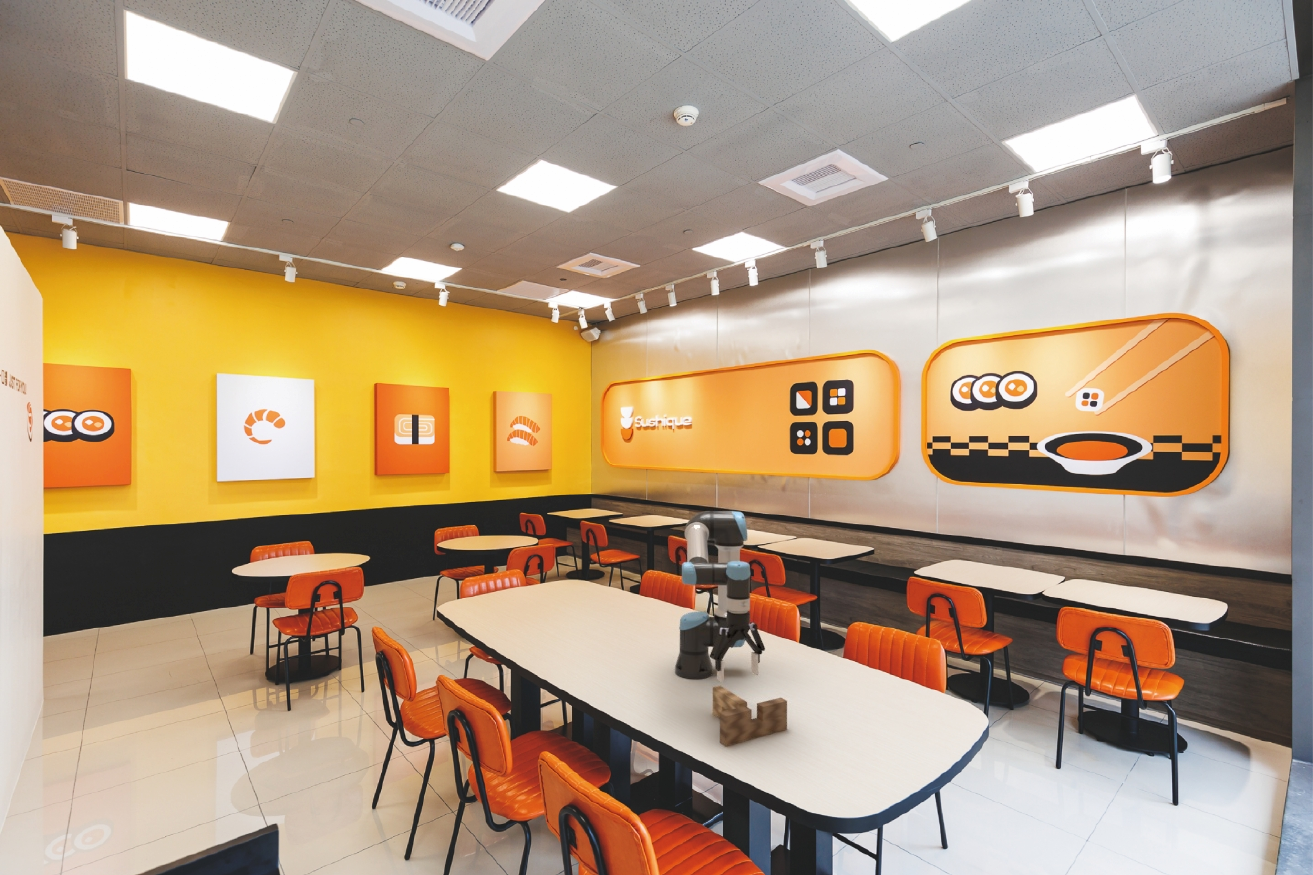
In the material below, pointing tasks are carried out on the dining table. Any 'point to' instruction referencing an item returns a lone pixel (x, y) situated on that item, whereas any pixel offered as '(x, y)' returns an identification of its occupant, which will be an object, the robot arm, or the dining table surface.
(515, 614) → the dining table surface
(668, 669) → the dining table surface
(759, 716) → the walnut board
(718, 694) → the oak plate
